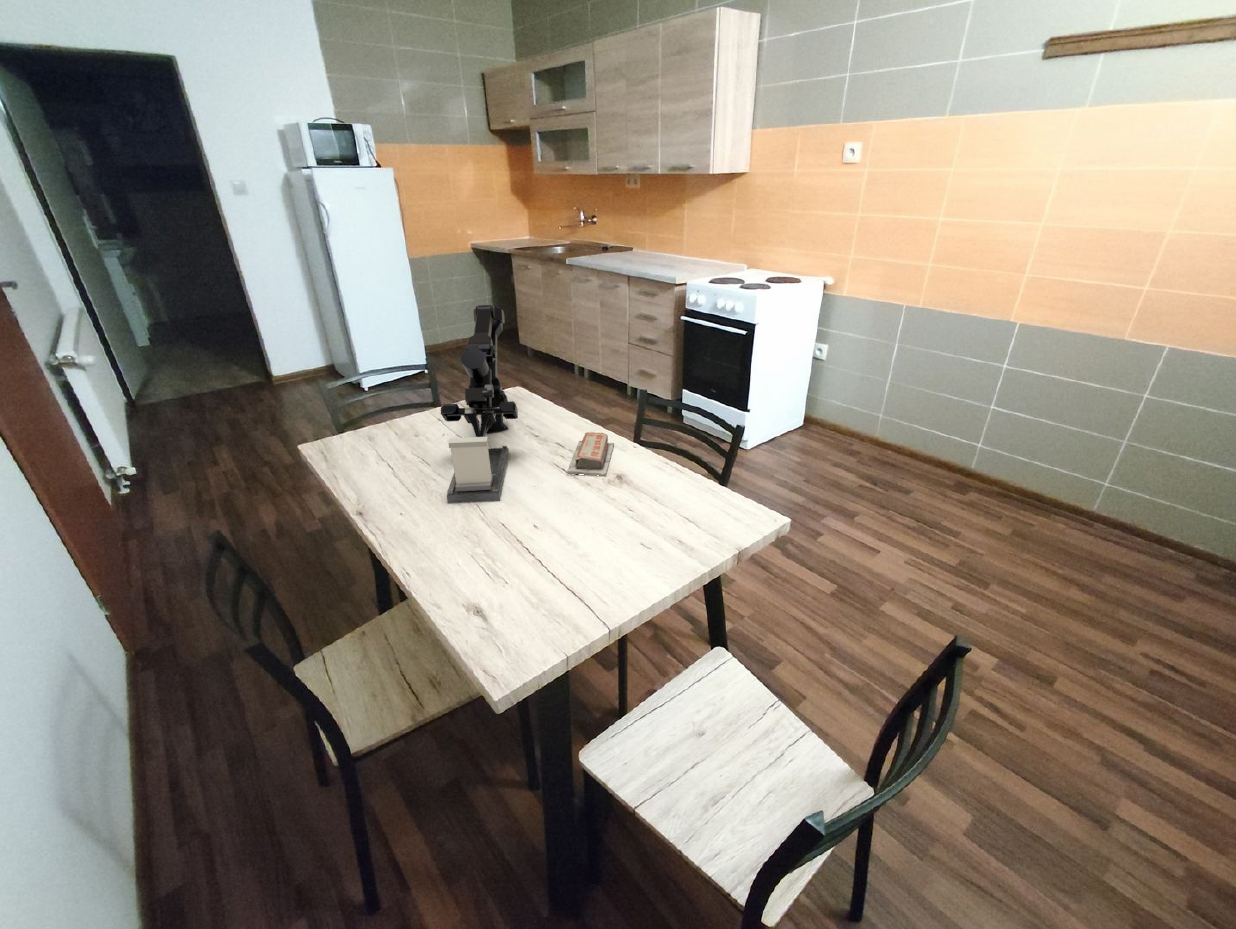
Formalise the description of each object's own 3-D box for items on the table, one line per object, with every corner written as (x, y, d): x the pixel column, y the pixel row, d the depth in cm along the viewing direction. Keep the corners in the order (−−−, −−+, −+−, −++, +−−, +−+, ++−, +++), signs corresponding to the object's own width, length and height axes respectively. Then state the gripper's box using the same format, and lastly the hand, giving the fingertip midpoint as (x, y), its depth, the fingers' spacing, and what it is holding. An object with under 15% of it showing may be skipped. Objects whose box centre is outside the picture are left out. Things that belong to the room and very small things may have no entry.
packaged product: (578, 429, 157) (614, 431, 156) (579, 445, 159) (614, 446, 158) (566, 459, 141) (605, 461, 140) (567, 476, 143) (606, 478, 142)
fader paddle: (458, 480, 136) (451, 436, 131) (494, 479, 137) (488, 434, 131) (455, 491, 132) (447, 445, 126) (491, 489, 132) (485, 443, 127)
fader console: (464, 456, 153) (462, 447, 151) (509, 454, 154) (508, 445, 152) (447, 503, 132) (445, 492, 130) (499, 500, 132) (498, 490, 131)
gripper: (435, 374, 139) (434, 433, 135) (512, 371, 140) (513, 430, 136) (446, 392, 150) (445, 448, 145) (517, 389, 151) (518, 445, 147)
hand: (479, 442), depth 143 cm, fingers closed
